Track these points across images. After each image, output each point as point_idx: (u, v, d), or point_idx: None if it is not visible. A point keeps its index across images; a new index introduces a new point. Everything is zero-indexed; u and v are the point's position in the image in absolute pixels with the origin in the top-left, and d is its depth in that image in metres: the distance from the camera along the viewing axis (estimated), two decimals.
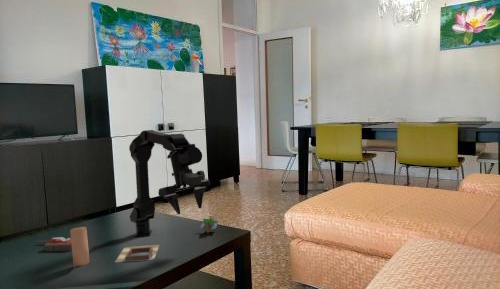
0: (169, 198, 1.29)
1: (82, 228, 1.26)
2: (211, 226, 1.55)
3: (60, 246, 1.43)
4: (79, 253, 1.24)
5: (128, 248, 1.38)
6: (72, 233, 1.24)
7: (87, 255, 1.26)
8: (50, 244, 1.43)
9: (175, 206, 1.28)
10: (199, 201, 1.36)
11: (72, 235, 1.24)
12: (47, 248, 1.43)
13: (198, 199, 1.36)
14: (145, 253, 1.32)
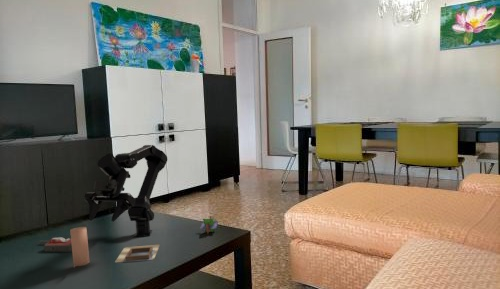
0: None
1: (82, 228, 1.26)
2: (211, 226, 1.55)
3: (59, 247, 1.42)
4: (79, 253, 1.24)
5: (128, 248, 1.38)
6: (72, 233, 1.24)
7: (87, 255, 1.26)
8: (50, 244, 1.43)
9: None
10: None
11: (72, 235, 1.24)
12: (47, 248, 1.43)
13: None
14: (145, 253, 1.32)
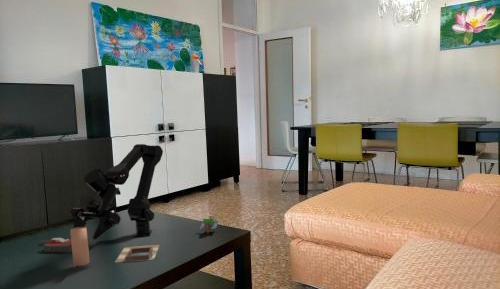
0: None
1: (82, 228, 1.26)
2: (211, 226, 1.55)
3: (58, 247, 1.41)
4: (79, 253, 1.24)
5: (128, 248, 1.38)
6: (72, 233, 1.24)
7: (87, 255, 1.26)
8: (49, 245, 1.43)
9: None
10: None
11: (72, 235, 1.24)
12: (46, 249, 1.42)
13: None
14: (145, 253, 1.32)
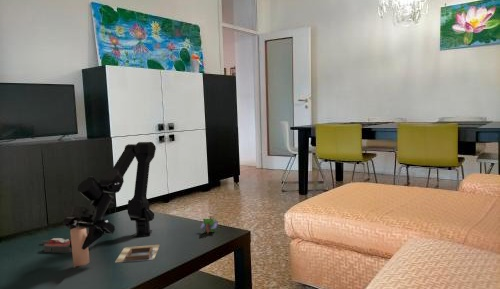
0: None
1: (82, 228, 1.26)
2: (211, 226, 1.55)
3: (58, 248, 1.41)
4: (79, 253, 1.24)
5: (128, 248, 1.38)
6: (72, 233, 1.24)
7: (87, 255, 1.26)
8: (49, 245, 1.43)
9: None
10: None
11: (72, 235, 1.24)
12: (46, 249, 1.42)
13: None
14: (145, 253, 1.32)
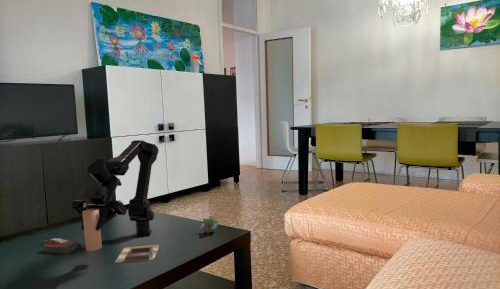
0: None
1: (94, 210, 1.25)
2: (211, 226, 1.55)
3: (56, 248, 1.41)
4: (93, 234, 1.24)
5: (128, 248, 1.38)
6: (85, 214, 1.23)
7: (100, 236, 1.26)
8: (48, 245, 1.42)
9: None
10: None
11: (85, 216, 1.23)
12: (45, 249, 1.42)
13: None
14: (145, 253, 1.32)
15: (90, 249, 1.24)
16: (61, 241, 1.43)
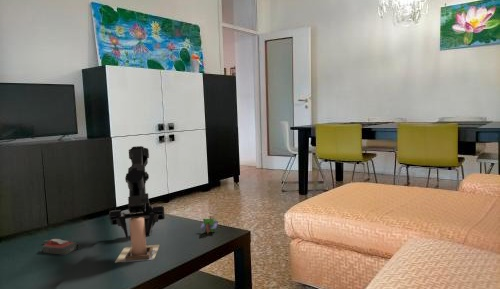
0: None
1: (140, 218, 1.30)
2: (211, 226, 1.55)
3: (55, 249, 1.40)
4: (142, 241, 1.29)
5: (128, 248, 1.38)
6: (136, 223, 1.27)
7: None
8: (47, 246, 1.42)
9: (123, 230, 1.29)
10: (148, 228, 1.31)
11: (135, 225, 1.27)
12: (44, 249, 1.42)
13: None
14: None
15: None
16: (60, 242, 1.43)
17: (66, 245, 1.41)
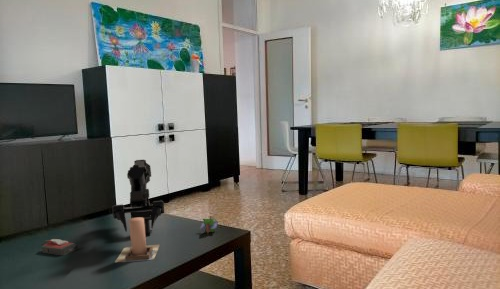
0: None
1: (139, 218, 1.30)
2: (211, 226, 1.55)
3: (53, 249, 1.39)
4: (142, 241, 1.29)
5: (128, 248, 1.38)
6: (135, 223, 1.27)
7: None
8: (46, 246, 1.42)
9: (123, 223, 1.37)
10: None
11: (135, 225, 1.27)
12: (43, 249, 1.41)
13: None
14: None
15: None
16: (59, 242, 1.42)
17: (64, 246, 1.40)
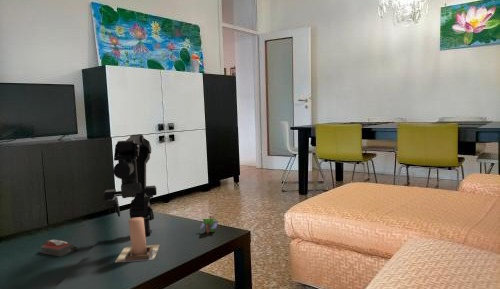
0: None
1: (139, 218, 1.30)
2: (211, 226, 1.55)
3: (51, 250, 1.39)
4: (142, 241, 1.29)
5: (128, 248, 1.38)
6: (135, 223, 1.27)
7: (145, 243, 1.31)
8: (45, 246, 1.41)
9: (115, 209, 1.38)
10: (144, 207, 1.40)
11: (135, 225, 1.27)
12: (42, 250, 1.41)
13: (144, 205, 1.41)
14: None
15: None
16: (58, 243, 1.41)
17: (62, 247, 1.39)
